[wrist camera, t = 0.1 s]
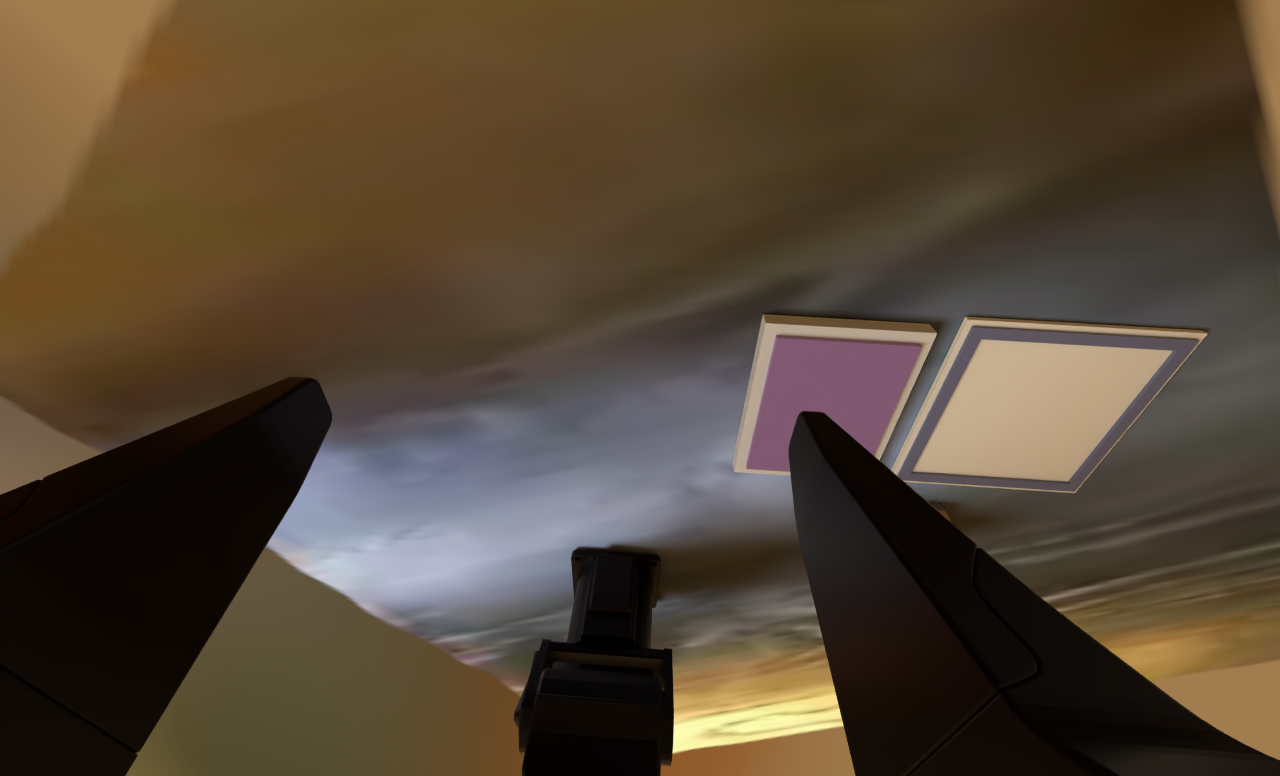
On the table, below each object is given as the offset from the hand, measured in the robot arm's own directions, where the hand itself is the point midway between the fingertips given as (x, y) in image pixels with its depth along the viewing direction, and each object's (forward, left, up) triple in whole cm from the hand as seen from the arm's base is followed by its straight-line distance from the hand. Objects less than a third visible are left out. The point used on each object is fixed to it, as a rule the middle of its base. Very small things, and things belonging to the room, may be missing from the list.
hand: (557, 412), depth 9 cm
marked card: (-10, -22, -15) cm, 28 cm away
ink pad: (-10, -11, -15) cm, 21 cm away
